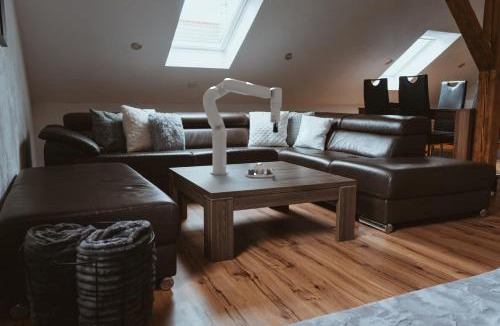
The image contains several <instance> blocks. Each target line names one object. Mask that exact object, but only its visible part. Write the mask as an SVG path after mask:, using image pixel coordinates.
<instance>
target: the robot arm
mask: <svg viewBox="0 0 500 326" xmlns="http://www.w3.org/2000/svg"><path fill="white" fill-rule="evenodd" d="M230 92H231V93H235V94H240V95H244V96H253V97H258V98H262V99H270V109H271V110H270V117H269V118H270V121H269V122H270V123H272V133H274V134H275V133H277V134H278V133H279V123H280V122H281V109H282V104H283V102H282V100H283V90H282V88H281V87H267V86H264V85H258V84H254V83H250V82H247V81H242V80H238V79H235V78H230V77H229V78H224V79H223V81H221V82H219V83H218V84H217V85H215V86H212V87H210V88H208V89H207V90H206V91H205V93H204V94H203V96H202V104H203V109H204V112H205V116H206V118H207V122H208V124H209V126H210V129H211V131H212V137H211V139H212V140H211V141H212V170H211V171H210V174H211V175H214V176H215V175H216V176H223V175H228V174H229V171H228V170H227V136H228V133H227V129H226V127H225V123H224V120H223V117H222V115H221V114H219V111H218V107H217V104H216V101H217V100H219V99H220V98H222V97H223V96H225V95H227V94H229V93H230Z"/></svg>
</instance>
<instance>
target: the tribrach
mask: <svg viewBox="0 0 500 326" xmlns="http://www.w3.org/2000/svg"><path fill="white" fill-rule="evenodd" d="M244 176H245V177H247V178H253V179H267V178H273V177H274V176H275V174H274V172H273V174H267V170H265V164H264V163H263V162H256V163H254V166H253V168H251V169H248V170H247V171H245V172H244Z"/></svg>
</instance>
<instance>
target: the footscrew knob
mask: <svg viewBox="0 0 500 326" xmlns="http://www.w3.org/2000/svg"><path fill="white" fill-rule="evenodd" d="M266 171H267V174H273V173H274V168H271V167H270V168H267V169H266Z"/></svg>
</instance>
